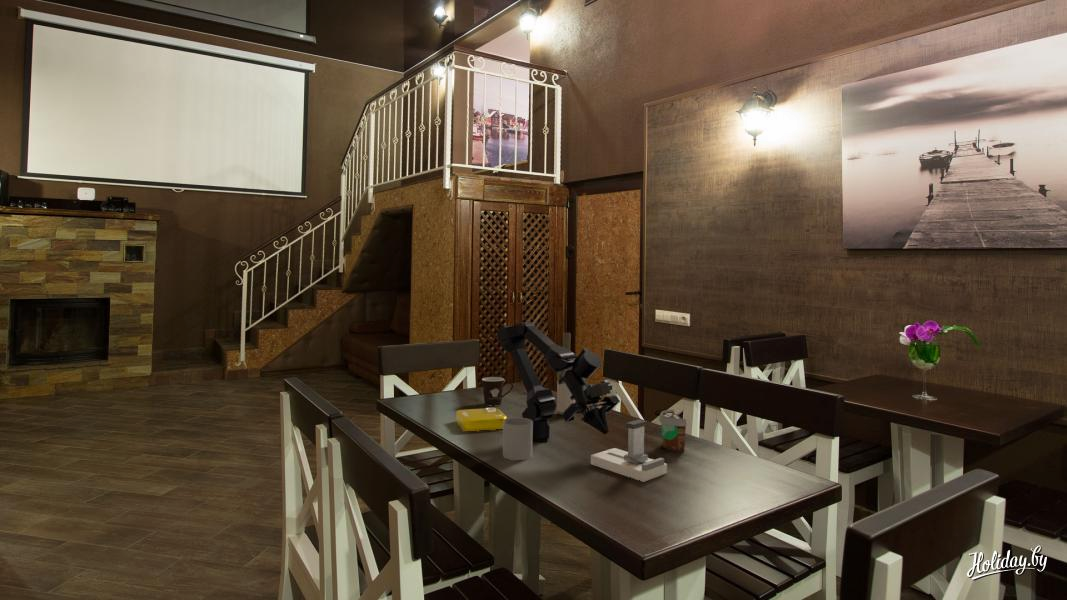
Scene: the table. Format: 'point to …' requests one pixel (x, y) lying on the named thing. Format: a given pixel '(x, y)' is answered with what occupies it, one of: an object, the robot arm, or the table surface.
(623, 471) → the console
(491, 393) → the coffee mug
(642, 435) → the fader
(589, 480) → the table surface
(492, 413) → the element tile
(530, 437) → the cup
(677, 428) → the food container
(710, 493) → the table surface
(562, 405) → the bottle
